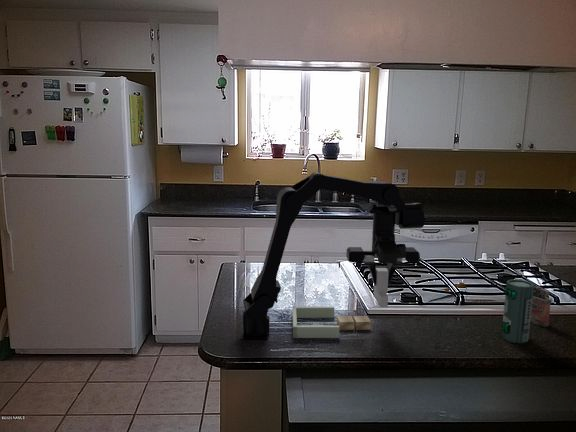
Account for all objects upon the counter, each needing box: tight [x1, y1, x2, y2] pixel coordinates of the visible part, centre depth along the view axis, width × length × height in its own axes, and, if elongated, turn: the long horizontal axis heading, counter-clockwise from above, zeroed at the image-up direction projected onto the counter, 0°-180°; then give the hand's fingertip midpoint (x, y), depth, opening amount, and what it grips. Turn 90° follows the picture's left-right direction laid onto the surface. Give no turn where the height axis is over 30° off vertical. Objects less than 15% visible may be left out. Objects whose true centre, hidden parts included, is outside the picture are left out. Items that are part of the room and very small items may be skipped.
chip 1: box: [336, 315, 355, 331], centre depth 129 cm, size 4×4×2 cm
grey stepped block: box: [373, 267, 389, 308], centre depth 127 cm, size 3×9×9 cm, turn 0°
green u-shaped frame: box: [292, 306, 340, 339], centre depth 129 cm, size 12×14×3 cm
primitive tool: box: [441, 281, 468, 292], centre depth 154 cm, size 19×6×4 cm, turn 118°
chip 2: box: [352, 315, 372, 331], centre depth 129 cm, size 4×4×2 cm
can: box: [501, 278, 535, 344], centre depth 121 cm, size 6×6×15 cm
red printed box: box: [530, 285, 552, 327], centre depth 133 cm, size 8×3×10 cm, turn 23°
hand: (381, 285), depth 127 cm, fingers closed on grey stepped block, 3 cm apart
